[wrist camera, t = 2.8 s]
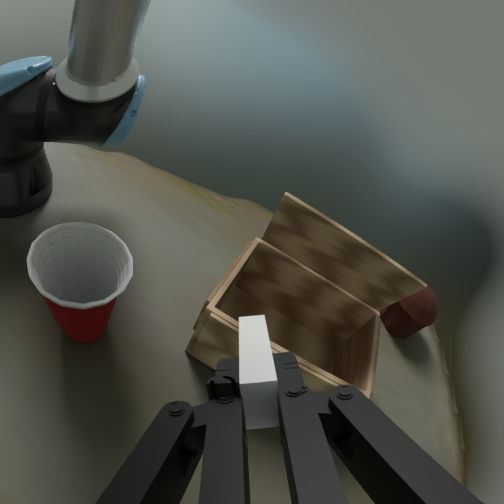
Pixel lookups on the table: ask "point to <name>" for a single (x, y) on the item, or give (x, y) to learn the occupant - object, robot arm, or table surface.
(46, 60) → the robot arm
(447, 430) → the table surface
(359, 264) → the flap
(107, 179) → the table surface
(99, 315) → the plastic cup
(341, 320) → the light wood open box
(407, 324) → the muffin
